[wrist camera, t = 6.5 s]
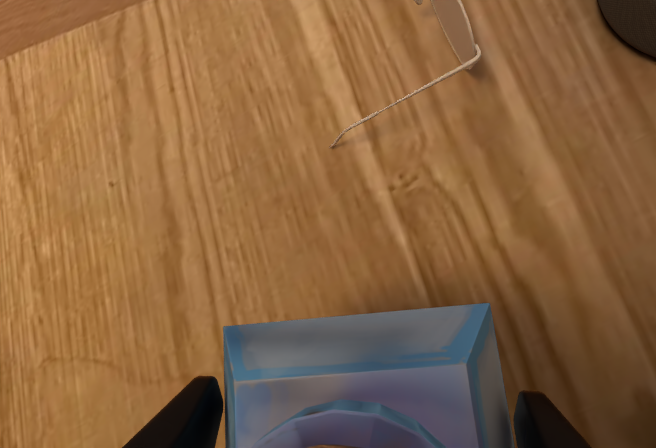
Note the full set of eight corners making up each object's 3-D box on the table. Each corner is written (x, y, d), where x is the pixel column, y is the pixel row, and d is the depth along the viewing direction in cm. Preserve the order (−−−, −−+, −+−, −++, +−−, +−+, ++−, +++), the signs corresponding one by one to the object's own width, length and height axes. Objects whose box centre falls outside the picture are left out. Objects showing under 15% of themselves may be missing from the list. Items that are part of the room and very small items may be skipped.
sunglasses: (481, 93, 23) (486, 41, 19) (340, 165, 25) (312, 132, 20) (376, -90, 27) (358, -172, 22) (259, -18, 29) (220, -81, 24)
